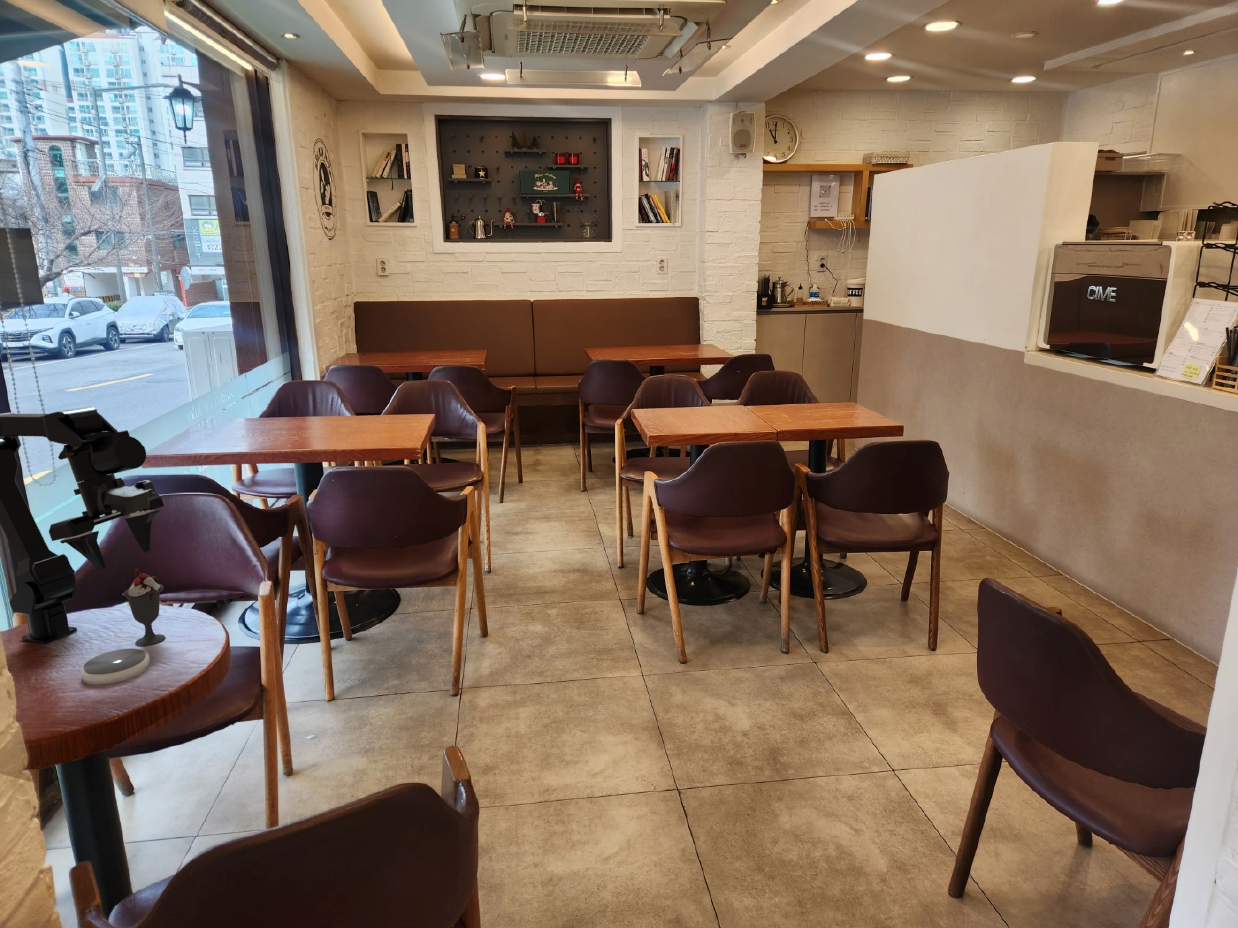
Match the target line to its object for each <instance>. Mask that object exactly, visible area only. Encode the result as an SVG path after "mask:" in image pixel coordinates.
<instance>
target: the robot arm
mask: <svg viewBox="0 0 1238 928" xmlns="http://www.w3.org/2000/svg"><path fill="white" fill-rule="evenodd" d="M2 436H3V438H0V526H1V529H2V530H3V533H4V534H5V537H6V539H7V541H8V542H9V545H10V547H11V548H12V551H13V553H14V554H15V557H16V558H17V561H18V563H17V564H18V565H17V568H16V569H17V570H16V573H15V580H16V581H15V582H16V584H17V586H18V589H16V592H15V593H14V594H13V595H12V597H11V598H10V600H9V605H10V607H11V609H12V611H13V612H14V613H19V614H25V616H26V621H27V626H28V627H27V628H28V631H29V633H27V634H25V635H22V636H21V640H22V641H28V642H32V643H33V642H34V643H38V644H39V643H40V644H48V643H49V642H52V641H54V640H57V639H59V638H62V637H64V636H67V635H69V634H72V633H74V632H77V631H78V627H76V626H70V625H69V619H68V614H67V610H66V605H65V603H64V602H67V601H69V600H73V599H74V598H75V593H76V586H77V585H76V584H77V576H76V570H75V569H74V568H73V567H72V565H71V563H70V561H69V557H68V556H67V555H66V554H64V553H62V554H59V555H58V554H56V553H55V552H53V551H52V550H51V549H49V546H48V544H47V542H46V540H45V538H44V536H43V534H42V533H41V530H40V529H39V526H38V524H37V522H36V520H35V518H34V515H33V514H32V512H31V510H30V508H29V506H28V504H27V502H26V500H25V498H24V495H23V494H22V492H21V490H20V488H19V485H18V483H17V481H16V478H17V473H18V469H19V462H18V459H17V457H16V455H17V453H18V451H19V450H20V448H21V446H22V443H21V440H20V438H19V437H43V438H46V439H47V440H48V441H49V442H53V443H57V444H61V445H63V448H62V450H61V451H60V452H59V455H58V457H57V458H58V459H59V460H60V461H62V460H65V459H66V460H68V463H69V466H70V468H71V472H72V474H73V477H74V480H75V483H76V484H77V488H75V489H73V493H74V495H75V496H77V495H81V498H82V501H83V504H84V506H85V510H84V511H81V514H82V515H80V516H76V517H71V518H67V519H64V520H61V521H58V522H54V523H52V524H50V526H49V528H48V529H49V530H48V534H49V537H50V540H51V541H52V542H55V541H59V542H60V543H61V544H67V545H69V546H70V547H71V548H73V549H74V550H76V551H77V552H78V553H79V554H80V555H82V556H83V557H84V558H85V559H87V560H88V562H90V564H92V565H93V566H94V567H95V568H97V569H98V570H99V571H105V570H106V567H107V566H106V563H105V559H104V556H103V554H102V552H101V548H100V546H99V543H98V539H99V534H100V531H99V530H95V531H93V530H94V528H95V527H96V526H97V525H100V524H104V523H106V522H110V521H113V520H115V519H119V518H123V517H124V516H128V517H126V518H124V520H125V522H126V524H127V526H128V527H129V529H130V531H131V533H132V535H133V537H134V539H135V541H136V543H137V544H138V546H139V548H140V549H141V551H142V552H143V554H146V553H149V552H150V551H151V532H152V523H153V520H154V519H155V517H156V515H157V514H159V513H160V512H161V509H160V508H163V507H165V503H164V500H163V497H162V496H161V495H160V494H158V493H156V489H155V486H154V484H153V483H152V481H151V480H147V479H143V480H142V481H137V482H136V484H135V485H131V486H127V485H126V483H125V482H124V481H125V480H123V479H122V478H121V477H118V478H116V475H115V474H118V473H123V472H127V471H130V470H131V471H132V470H135V469H139V468H140V467H142V466H143V465H144V463H145V462H146V459H147V451H146V447H145V446H144V445H143V444H142V442H141V441H139V440H138V439H137V438H135V437H133V436H131V435H130V432H129V430H128V429H126V430H121V431H118V429H117V428H115V427H114V426H113V425H112V424H111V423H110V422H109V421H107V420H106V419H105V417H104V416H102V414H100V413H99V412H98V410H97V408H95V407H92V406H87V407H80V408H71V409H67V410H61V411H55V412H50V413H14V412H2V413H0V437H2Z"/></svg>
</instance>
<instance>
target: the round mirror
mask: <svg viewBox="0 0 1238 928" xmlns="http://www.w3.org/2000/svg"><path fill="white" fill-rule="evenodd" d="M150 666H151V661H150V654H149V652H147V651H146V650H143V649H140V648H122V649H115V650H111V651H107V652H104V653H101V654H98V655H96V656H94V657H92V658H89V660H87V661H86V662H85V663H84V664H83V665H82V666H81V668H80V675H81V680H82V682H83V683H85V684H88V685H94V686H95V685H96V686H98V685H101V686H102V685H109V684H114V683H119V682H123V681H125V680H130V679H132V678H134V677H137V676H138V675H140V674H142V673H144V672H145V671H147V670H148V669H149V667H150Z"/></svg>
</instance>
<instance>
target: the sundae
mask: <svg viewBox="0 0 1238 928" xmlns="http://www.w3.org/2000/svg"><path fill="white" fill-rule="evenodd" d="M134 571H135V575H134V576H135V577H134V578H135V579H134V580H133V581H132V583H131V586H130V587H129V588H128V589H126V590H125V591H123V593H122V594H121V595H122V596H124V597H125V598H126V599H127V602H128V604H129V607H130V611H131V614H132V617H133V618H134V620H135V621H136V622H138V623H139V624H142V625H143V626H144V630H145V631H144V635H143V636H142V637H141V638H138V639H137V640H135V643H134V644H135V645H136V646H137V647H149V646H154V645H157V644H159V643H162V642H163V641H165V639H166V636H165V635H164V634H161V633H160V634H159V633H157V634H156V633H155V632H154V629H153V623H154V621H156V620H157V618H158V617H159V615H160V595H161V592H163V590H164V585H163V584H160V583H159V578H157V577H155V576H153V575H151V574H149V573H148V574H146V573H144V572H143V573H141V572H140V571H139V567H137V568H136V569H134ZM137 572H138V574H139V576H137Z"/></svg>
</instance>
